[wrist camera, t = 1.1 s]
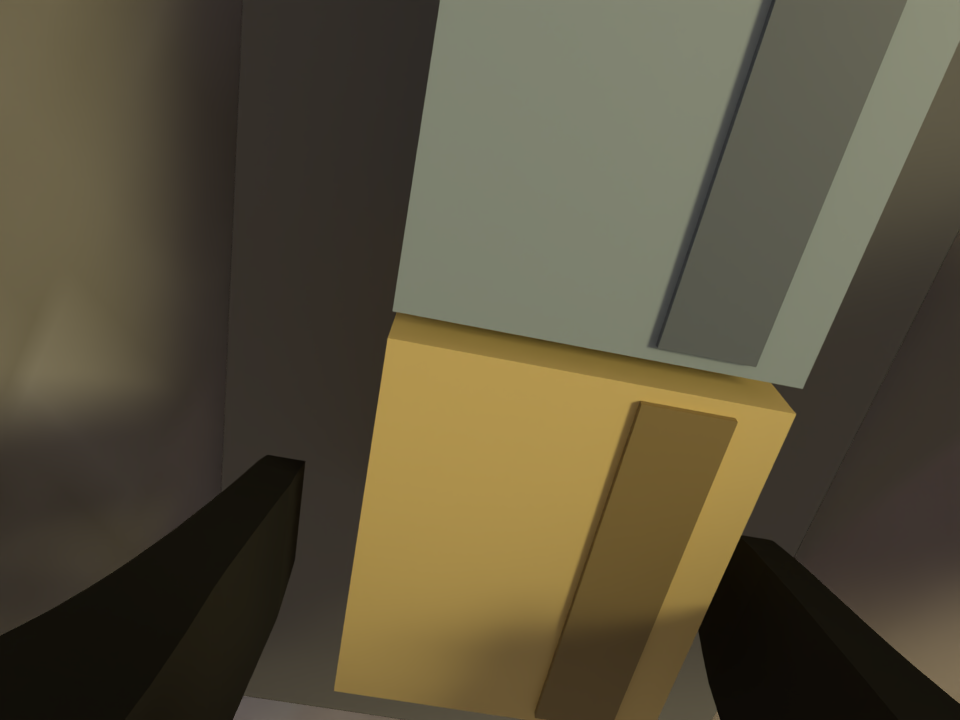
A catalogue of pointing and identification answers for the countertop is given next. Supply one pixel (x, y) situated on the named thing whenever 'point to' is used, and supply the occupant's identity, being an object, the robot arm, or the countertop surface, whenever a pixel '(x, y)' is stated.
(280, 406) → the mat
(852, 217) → the block
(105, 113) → the countertop surface
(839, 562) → the countertop surface
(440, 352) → the stub
